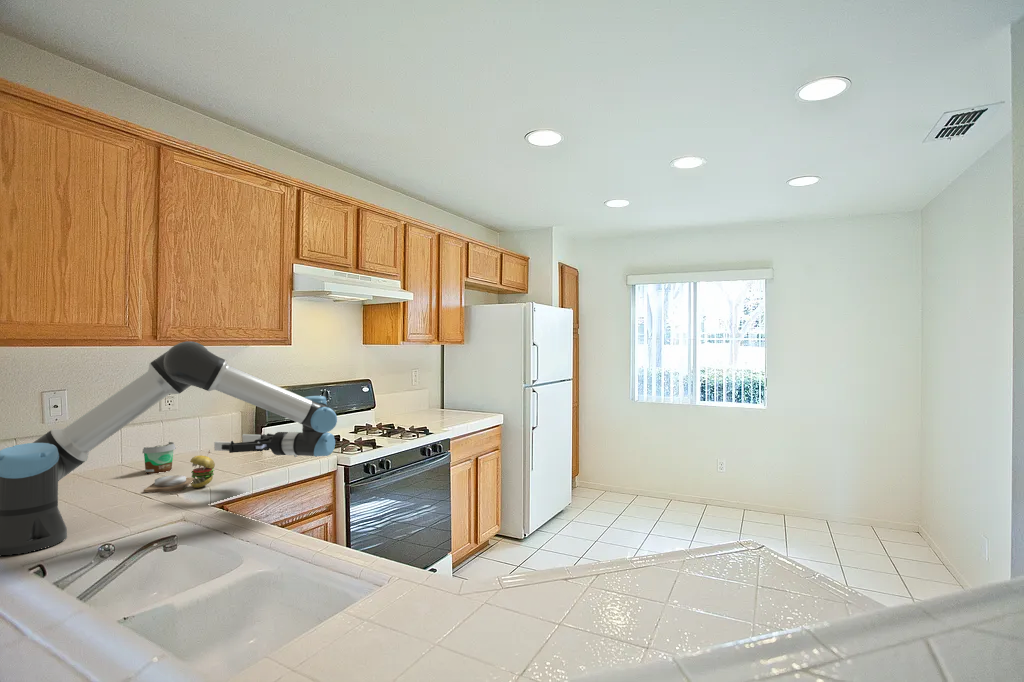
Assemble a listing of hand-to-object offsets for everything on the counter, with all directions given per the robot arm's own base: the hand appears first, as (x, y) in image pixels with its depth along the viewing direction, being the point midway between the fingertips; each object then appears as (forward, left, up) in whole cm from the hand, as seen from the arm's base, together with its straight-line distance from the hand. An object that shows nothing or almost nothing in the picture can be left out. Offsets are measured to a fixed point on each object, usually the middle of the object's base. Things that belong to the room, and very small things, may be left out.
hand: (229, 442), depth 181 cm
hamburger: (-9, +4, -16) cm, 18 cm away
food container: (-30, +32, -16) cm, 46 cm away
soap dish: (-20, +7, -15) cm, 26 cm away
